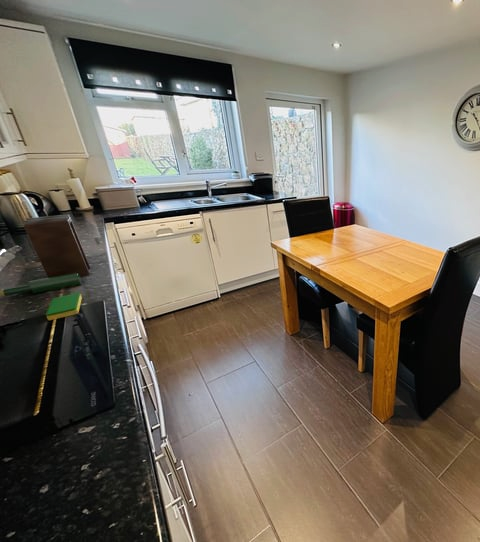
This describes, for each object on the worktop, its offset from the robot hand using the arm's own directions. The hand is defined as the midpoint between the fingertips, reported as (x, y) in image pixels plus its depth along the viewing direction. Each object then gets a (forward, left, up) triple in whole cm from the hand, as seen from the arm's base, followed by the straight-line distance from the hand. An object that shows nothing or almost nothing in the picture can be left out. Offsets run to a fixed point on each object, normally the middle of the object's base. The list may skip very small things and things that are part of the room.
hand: (16, 250), depth 100 cm
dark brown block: (+9, +14, -17) cm, 24 cm away
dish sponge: (+10, -22, -17) cm, 30 cm away
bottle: (+2, 0, -15) cm, 15 cm away
